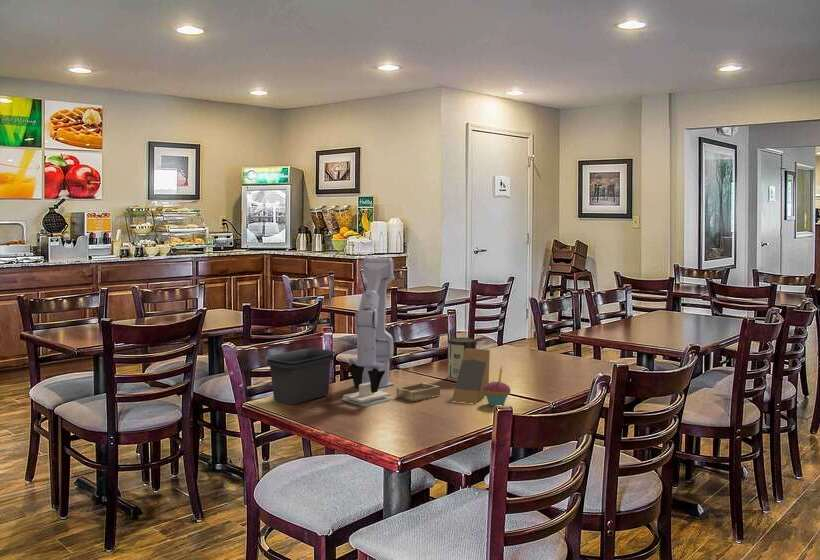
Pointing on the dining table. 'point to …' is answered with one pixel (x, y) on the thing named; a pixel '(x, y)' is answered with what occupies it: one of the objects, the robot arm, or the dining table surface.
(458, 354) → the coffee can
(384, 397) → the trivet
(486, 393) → the cupcake
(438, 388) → the box
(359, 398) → the lid
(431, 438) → the dining table surface
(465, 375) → the sandwich container
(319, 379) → the storage bin
